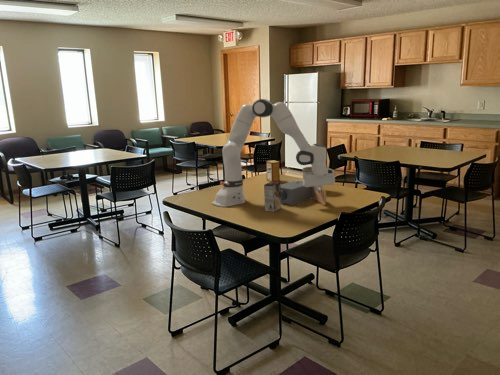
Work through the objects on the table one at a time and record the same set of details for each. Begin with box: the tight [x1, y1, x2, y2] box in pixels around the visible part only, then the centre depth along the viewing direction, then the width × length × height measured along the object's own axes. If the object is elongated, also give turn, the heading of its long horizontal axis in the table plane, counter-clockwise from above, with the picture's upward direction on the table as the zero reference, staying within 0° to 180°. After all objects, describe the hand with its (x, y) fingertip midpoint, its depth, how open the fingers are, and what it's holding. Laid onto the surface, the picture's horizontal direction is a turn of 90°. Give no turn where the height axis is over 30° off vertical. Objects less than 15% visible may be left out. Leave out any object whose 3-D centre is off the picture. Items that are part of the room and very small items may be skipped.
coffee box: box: [263, 182, 282, 213], centre depth 242 cm, size 9×6×16 cm
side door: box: [312, 186, 327, 206], centre depth 255 cm, size 20×2×9 cm, turn 11°
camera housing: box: [280, 180, 314, 206], centre depth 262 cm, size 24×14×11 cm, turn 135°
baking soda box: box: [265, 160, 281, 183], centre depth 319 cm, size 10×6×16 cm
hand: (318, 192), depth 250 cm, fingers closed
